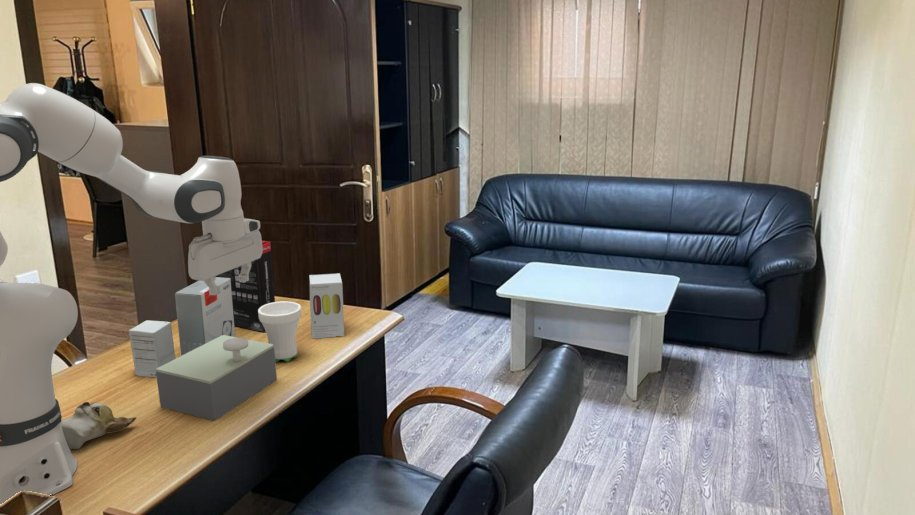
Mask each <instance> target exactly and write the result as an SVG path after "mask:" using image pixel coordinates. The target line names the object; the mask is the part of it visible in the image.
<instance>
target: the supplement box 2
mask: <svg viewBox="0 0 915 515" xmlns="http://www.w3.org/2000/svg"><path fill="white" fill-rule="evenodd" d="M308 279H309V280H308V281H309V310H310V314H309V315H310V329H311V337H312V339H315V340H316V339H325V338H337V337H336V336H341V337H345V320H344V319H345V318H344V293H343V292H344V290H343V281H342V280H343V279H342V277H341V273H340V272H339V273H338V272H337V273H325V274H324V273H323V274H309V278H308Z"/></svg>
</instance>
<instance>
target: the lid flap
mask: <svg viewBox="0 0 915 515" xmlns="http://www.w3.org/2000/svg"><path fill="white" fill-rule="evenodd" d="M273 347H274V345H273V344H269V343H268V342H262V341H257V340H251V339H248V338H245V337H236V336H235V337H232V336H227V335H222V336H220V337H218V338H216V339H214V340H212V341H210V342H208V343H206V344H204V345H202V346H200V347H198V348H196V349H194V350H192V351H190V352H188V353H186V354H184V355H182V356H181V355H180V356H179V357H176V359H174V360H172V361H170V362H168V363H166V364H164V365H162V366H160V367H158V368H156V372H161V373H165V374H169V375H174V376H178V377H182V378H187V379H191V380H195V381H200V382H204V383H209V384H211V383H213V382H215V381H216V380H218V379H220V378H222V377H223V376H225V375H227V374H228V373H230V372H232V371H234V370H235V369H237V368H239V367H240V366H242V365H244V364H246V363H247V362H249V361H251V360H252V359H254V358H256V357H258V356H259V355H261V354H263V353H264V352H266V351H268V350H270V349H271V348H273Z"/></svg>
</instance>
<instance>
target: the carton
mask: <svg viewBox="0 0 915 515" xmlns="http://www.w3.org/2000/svg"><path fill="white" fill-rule="evenodd" d="M276 368H277V366H276V362H275V352H274V347H273V348H271V349H270V350H268V351H266V352H264V353H263V354H261V355H259V356H258V357H256V358H254V359H252V360H251V361H249V362H247V363H246V364H244V365H242V366H240V367H239V368H237V369H235V370H234V371H232V372H230V373H228V374H227V375H225V376H223V377H222V378H220V379H218V380H216V381H215V382H213V383H211V384H209V383H204V382H200V381H195V380H191V379H187V378H182V377H178V376H174V375H169V374H165V373H161V372H156V377H157V378H156V383H157V391H158V397H159V404H160V405H159V406H160V408H163V409H166V410H170V411H174V412H179V413H182V414H185V415H186V414H187V415H191V416H195V417H198V418H200V419H201V418H203V419H206V420H210V421H214V422H215V421H217V420H218V419H219V418H222V417H223V416H225V415H226V414H227V413H229V412H230V411H232V410H234V409H235V408H236V407H238V406H240V405H241V404H243V403H244V402H246V401H247V400H249V399H250V398H252V397H253V396H255V395H256V394H258V393H259V392H261V391H263V390H264V389H265V388H268V387H269V386H270V385H272V384H273V383H274V382H276V381H277V380H278V379H277V378H278V377H277V369H276Z"/></svg>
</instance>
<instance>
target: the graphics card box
mask: <svg viewBox="0 0 915 515" xmlns="http://www.w3.org/2000/svg"><path fill="white" fill-rule="evenodd" d="M271 246H272V245H271V241H269V240H268V241H267V240H262V249H263V252H262V255H261V257H260V258H259V259H256V260H254V261H251V269H250V272H249V281H247V282H244V283H243V282H239V277H238V275H239V274H241V269H242V266H239V267H237V268H234V269H232V270H229V271H227V272H224V273H222V274H219V275H217V276H216V277H221V278H231V279H230V280H231V292H232V304H233V317H234V327H237V328H243V329H247V330H253V331H257V332H261V333H266V331H265V328H264V326H263V324H262V323H261V322H260V320H259V315H258V309H259V308H260V307H261V306H263V305H265V304H268V303H273V302H276V298H275V284H274V274H273V260H272V248H271Z"/></svg>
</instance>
